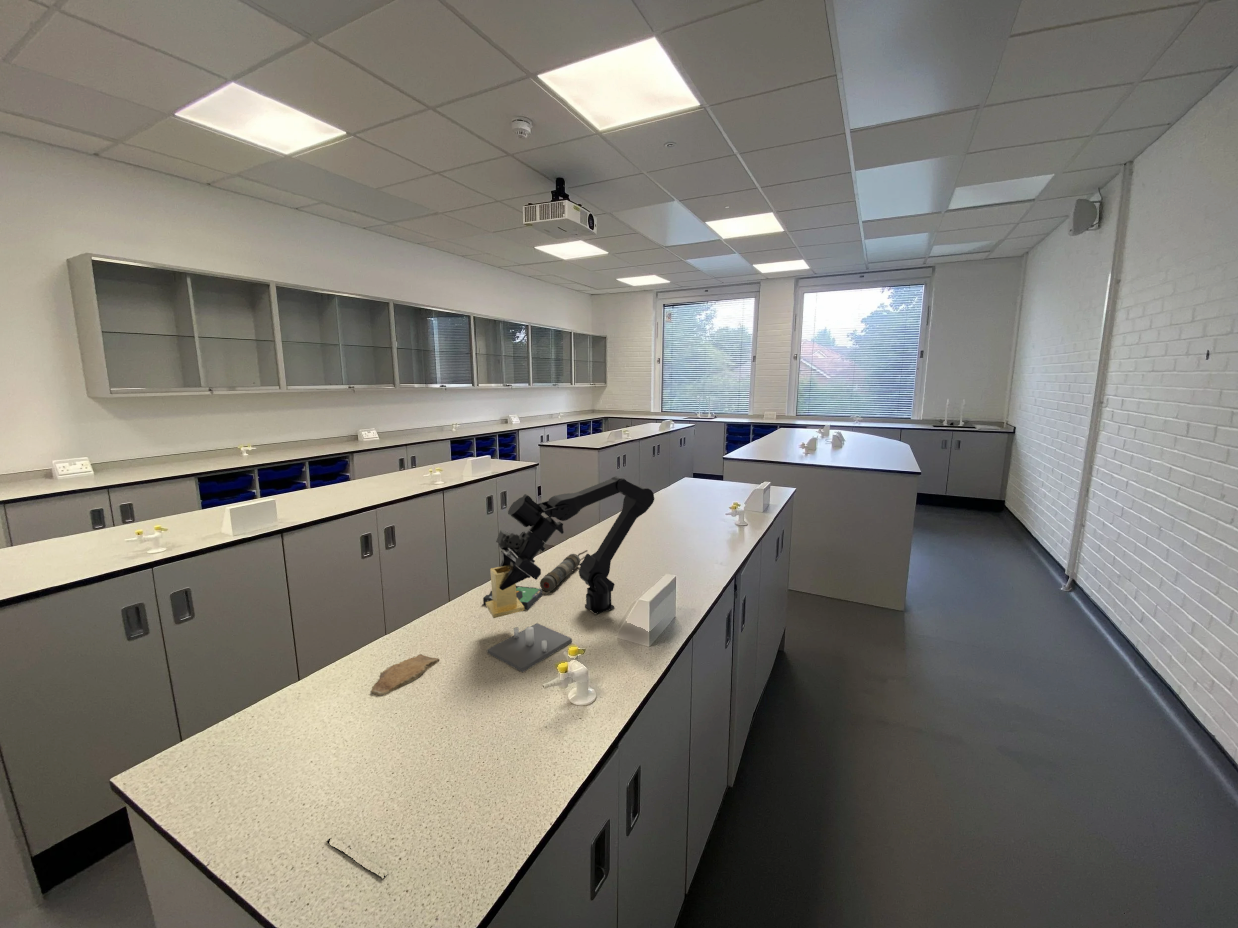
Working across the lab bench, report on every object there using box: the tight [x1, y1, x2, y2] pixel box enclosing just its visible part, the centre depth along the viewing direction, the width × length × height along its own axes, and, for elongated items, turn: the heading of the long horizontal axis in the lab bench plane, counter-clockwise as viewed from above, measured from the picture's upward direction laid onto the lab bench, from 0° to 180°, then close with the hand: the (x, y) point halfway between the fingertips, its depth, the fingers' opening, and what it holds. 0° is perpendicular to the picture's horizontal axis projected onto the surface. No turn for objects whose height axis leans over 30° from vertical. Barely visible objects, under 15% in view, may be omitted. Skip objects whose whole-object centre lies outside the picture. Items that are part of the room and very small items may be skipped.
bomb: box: [539, 549, 588, 593], centre depth 165 cm, size 5×34×5 cm, turn 162°
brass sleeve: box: [485, 565, 526, 619], centre depth 124 cm, size 8×8×10 cm
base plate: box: [486, 622, 573, 673], centre depth 118 cm, size 16×13×5 cm
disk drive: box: [482, 585, 543, 611], centre depth 145 cm, size 10×3×15 cm
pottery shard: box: [370, 653, 440, 696], centre depth 108 cm, size 8×16×2 cm, turn 143°
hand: (498, 585), depth 123 cm, fingers closed on brass sleeve, 5 cm apart
